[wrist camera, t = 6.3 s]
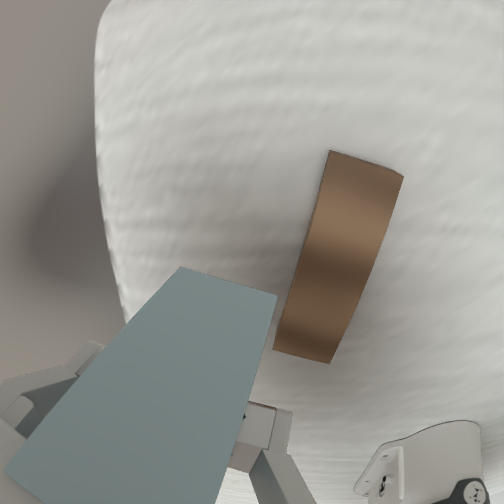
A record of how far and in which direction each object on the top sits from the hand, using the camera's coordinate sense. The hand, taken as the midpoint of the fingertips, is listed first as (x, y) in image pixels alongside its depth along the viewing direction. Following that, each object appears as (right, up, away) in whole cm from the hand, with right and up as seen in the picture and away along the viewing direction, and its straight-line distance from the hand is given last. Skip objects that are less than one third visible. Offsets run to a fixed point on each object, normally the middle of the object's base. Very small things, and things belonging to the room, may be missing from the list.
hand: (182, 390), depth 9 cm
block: (+1, +2, +4) cm, 4 cm away
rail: (+9, +4, +15) cm, 18 cm away
